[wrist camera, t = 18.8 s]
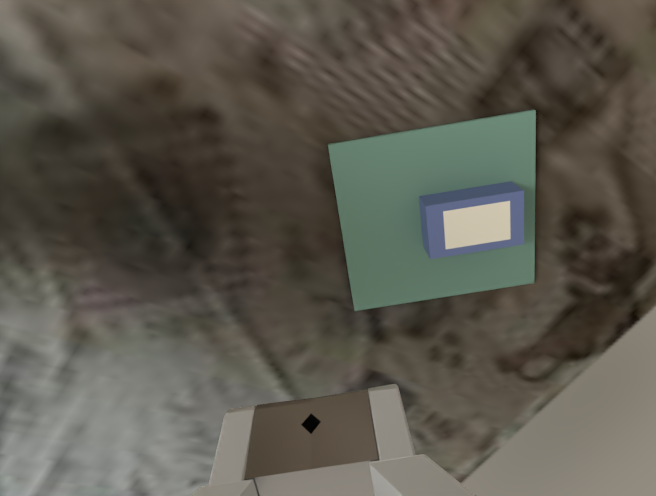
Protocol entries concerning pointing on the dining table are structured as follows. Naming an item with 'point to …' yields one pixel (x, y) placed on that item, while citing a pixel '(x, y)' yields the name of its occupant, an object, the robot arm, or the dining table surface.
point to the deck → (472, 219)
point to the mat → (404, 208)
